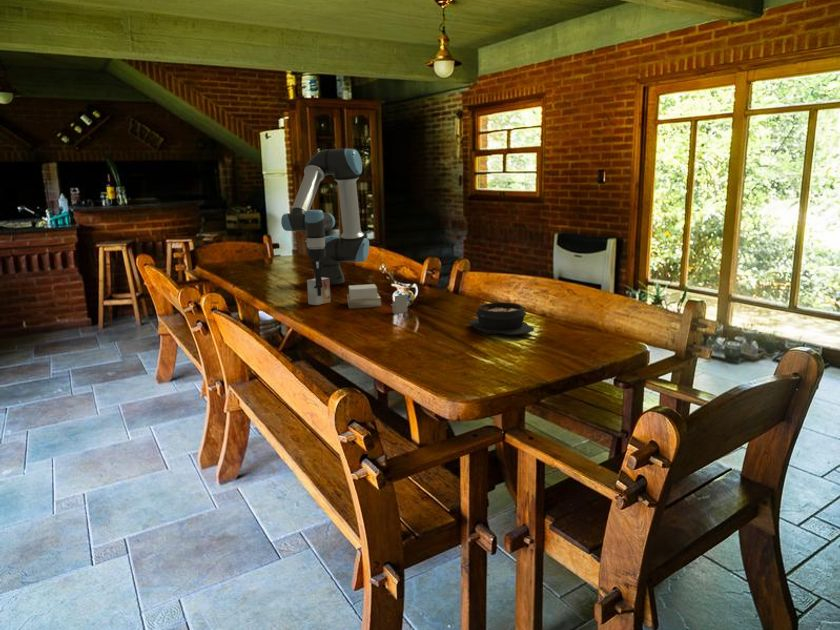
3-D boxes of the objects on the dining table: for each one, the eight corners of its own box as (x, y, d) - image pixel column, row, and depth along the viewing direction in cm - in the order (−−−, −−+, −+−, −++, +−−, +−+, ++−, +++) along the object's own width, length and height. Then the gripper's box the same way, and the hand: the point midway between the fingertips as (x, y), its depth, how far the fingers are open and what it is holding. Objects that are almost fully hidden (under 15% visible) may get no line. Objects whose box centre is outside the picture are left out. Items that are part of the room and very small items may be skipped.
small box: (317, 305, 250) (315, 280, 247) (308, 304, 253) (306, 279, 250) (331, 302, 256) (329, 277, 253) (322, 300, 259) (320, 276, 256)
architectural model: (390, 313, 235) (389, 294, 233) (405, 311, 239) (404, 292, 237) (395, 315, 232) (394, 296, 231) (410, 312, 236) (409, 293, 234)
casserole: (456, 328, 210) (456, 304, 208) (496, 319, 220) (496, 297, 218) (505, 343, 190) (505, 318, 188) (546, 333, 200) (547, 309, 198)
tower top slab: (349, 295, 252) (348, 285, 252) (375, 293, 254) (374, 284, 253) (350, 299, 244) (350, 289, 243) (377, 297, 246) (377, 288, 245)
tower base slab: (347, 304, 254) (347, 294, 253) (378, 302, 256) (377, 292, 255) (349, 309, 243) (348, 300, 242) (381, 307, 246) (380, 298, 245)
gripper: (306, 245, 259) (310, 296, 264) (307, 251, 238) (310, 306, 243) (324, 244, 260) (327, 295, 265) (326, 250, 239) (329, 305, 244)
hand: (319, 300), depth 254 cm, fingers closed on small box, 9 cm apart
